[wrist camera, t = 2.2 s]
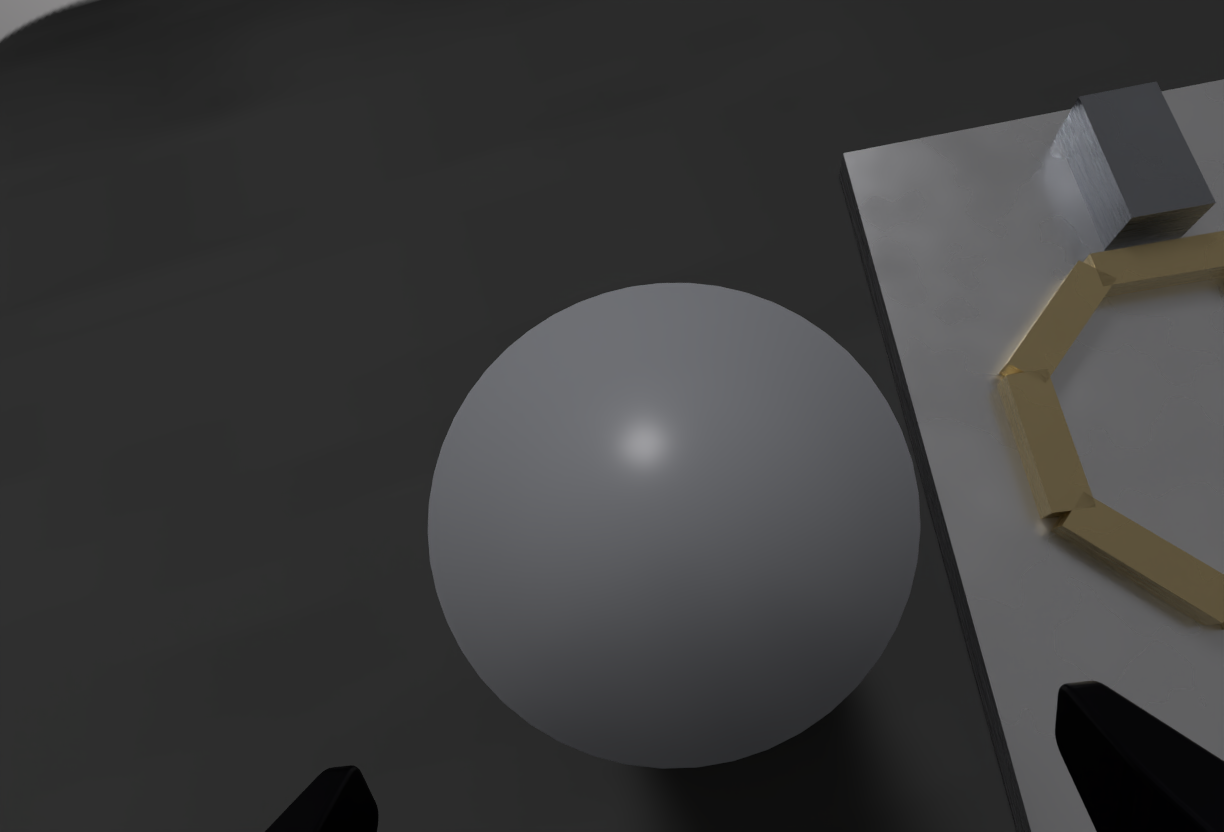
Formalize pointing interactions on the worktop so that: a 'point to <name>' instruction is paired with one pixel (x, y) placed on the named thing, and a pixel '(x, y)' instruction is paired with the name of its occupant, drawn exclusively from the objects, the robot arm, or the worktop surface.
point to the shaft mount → (1066, 404)
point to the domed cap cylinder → (674, 525)
